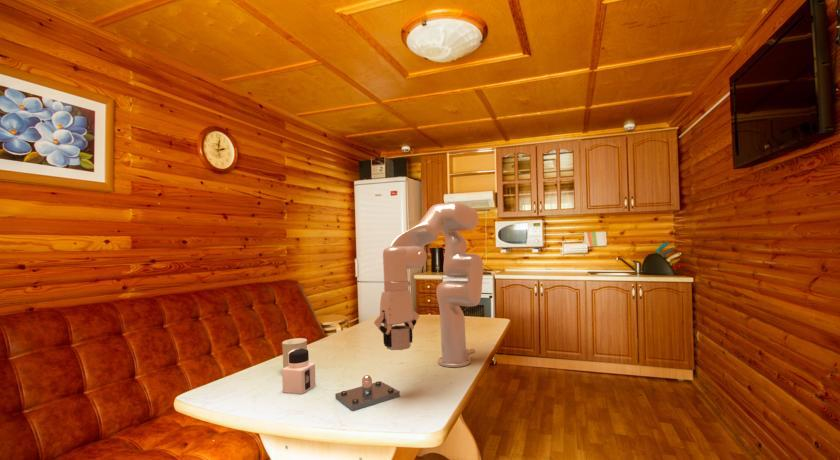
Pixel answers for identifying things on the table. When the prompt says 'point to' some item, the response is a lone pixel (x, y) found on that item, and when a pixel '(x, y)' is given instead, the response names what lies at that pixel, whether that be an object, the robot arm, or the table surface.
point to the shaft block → (367, 394)
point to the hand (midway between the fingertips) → (398, 343)
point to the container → (298, 372)
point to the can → (292, 347)
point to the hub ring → (400, 337)
